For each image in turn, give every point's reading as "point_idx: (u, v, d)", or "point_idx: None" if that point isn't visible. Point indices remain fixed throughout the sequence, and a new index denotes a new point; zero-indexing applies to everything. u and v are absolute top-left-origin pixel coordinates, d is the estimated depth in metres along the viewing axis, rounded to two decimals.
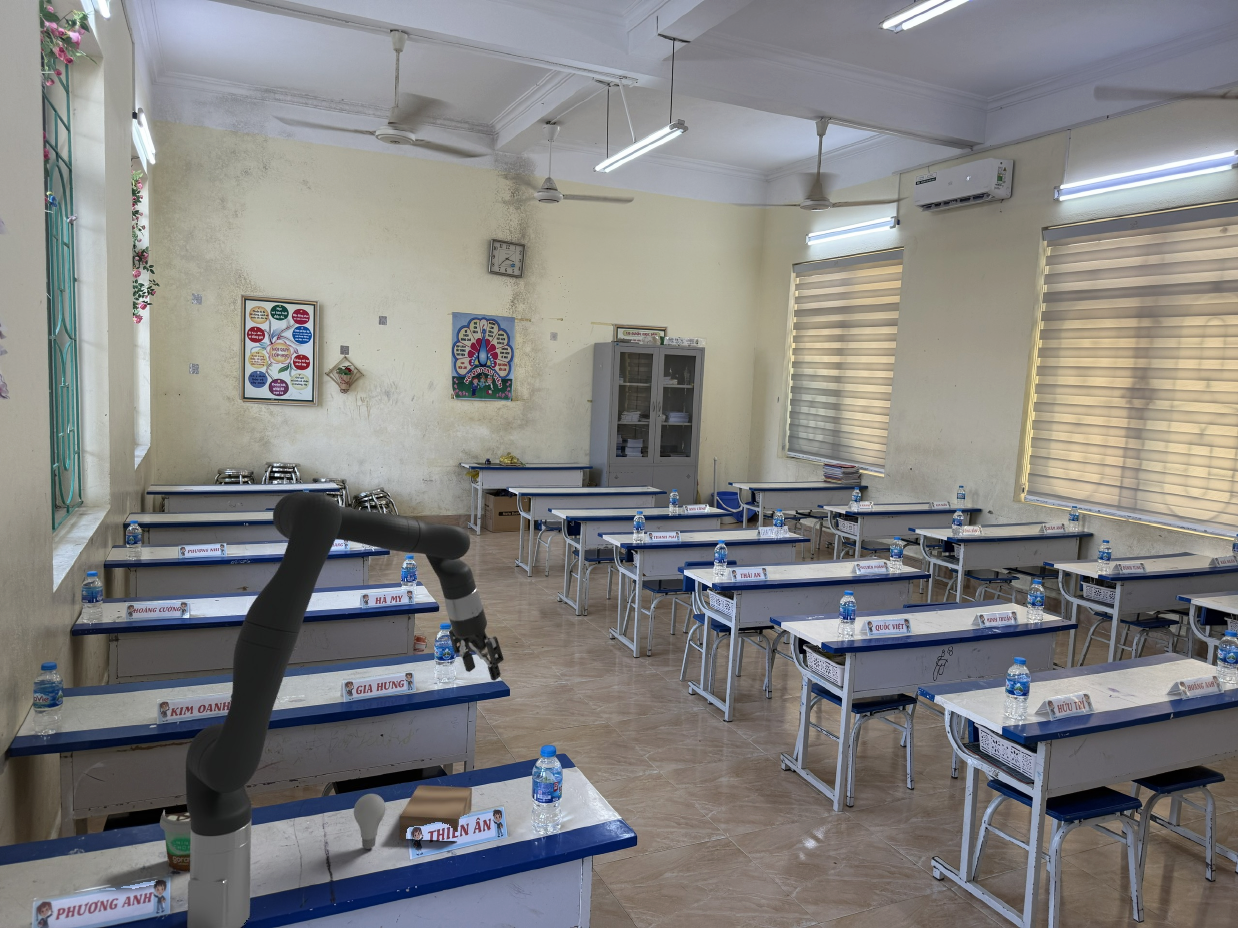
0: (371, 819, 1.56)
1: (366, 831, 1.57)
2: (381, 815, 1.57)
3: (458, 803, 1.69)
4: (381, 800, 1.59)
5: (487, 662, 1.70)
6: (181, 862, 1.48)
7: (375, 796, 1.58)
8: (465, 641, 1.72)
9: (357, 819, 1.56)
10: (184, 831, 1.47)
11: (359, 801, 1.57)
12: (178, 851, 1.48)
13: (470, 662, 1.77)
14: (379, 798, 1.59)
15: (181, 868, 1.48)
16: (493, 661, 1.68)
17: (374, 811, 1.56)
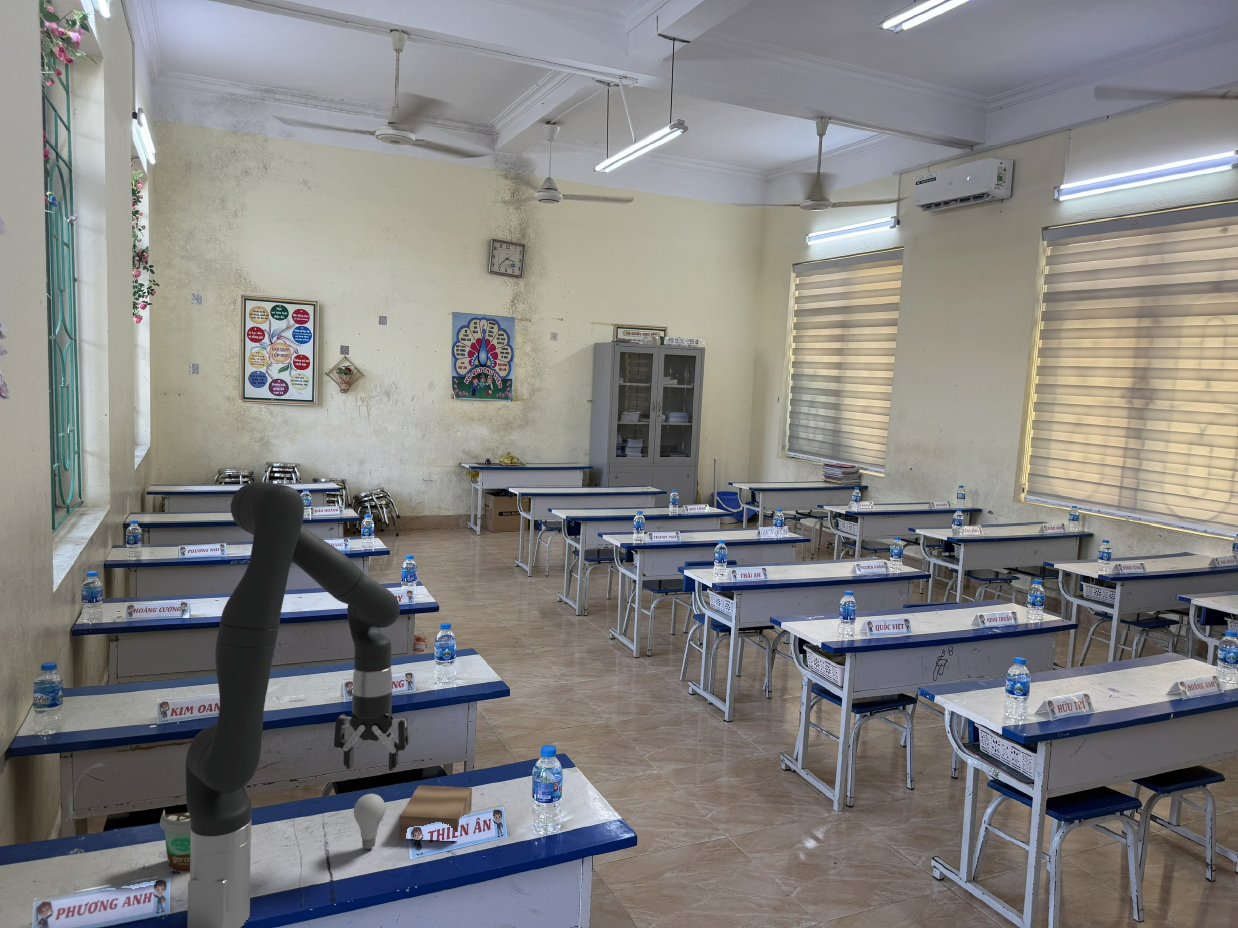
0: (371, 819, 1.56)
1: (366, 831, 1.57)
2: (381, 815, 1.57)
3: (458, 803, 1.69)
4: (381, 800, 1.59)
5: (391, 747, 1.57)
6: (181, 862, 1.48)
7: (375, 796, 1.58)
8: (365, 726, 1.56)
9: (357, 819, 1.56)
10: (184, 831, 1.47)
11: (359, 801, 1.57)
12: (178, 851, 1.48)
13: (351, 758, 1.58)
14: (379, 798, 1.59)
15: (181, 868, 1.48)
16: (402, 744, 1.56)
17: (374, 811, 1.56)
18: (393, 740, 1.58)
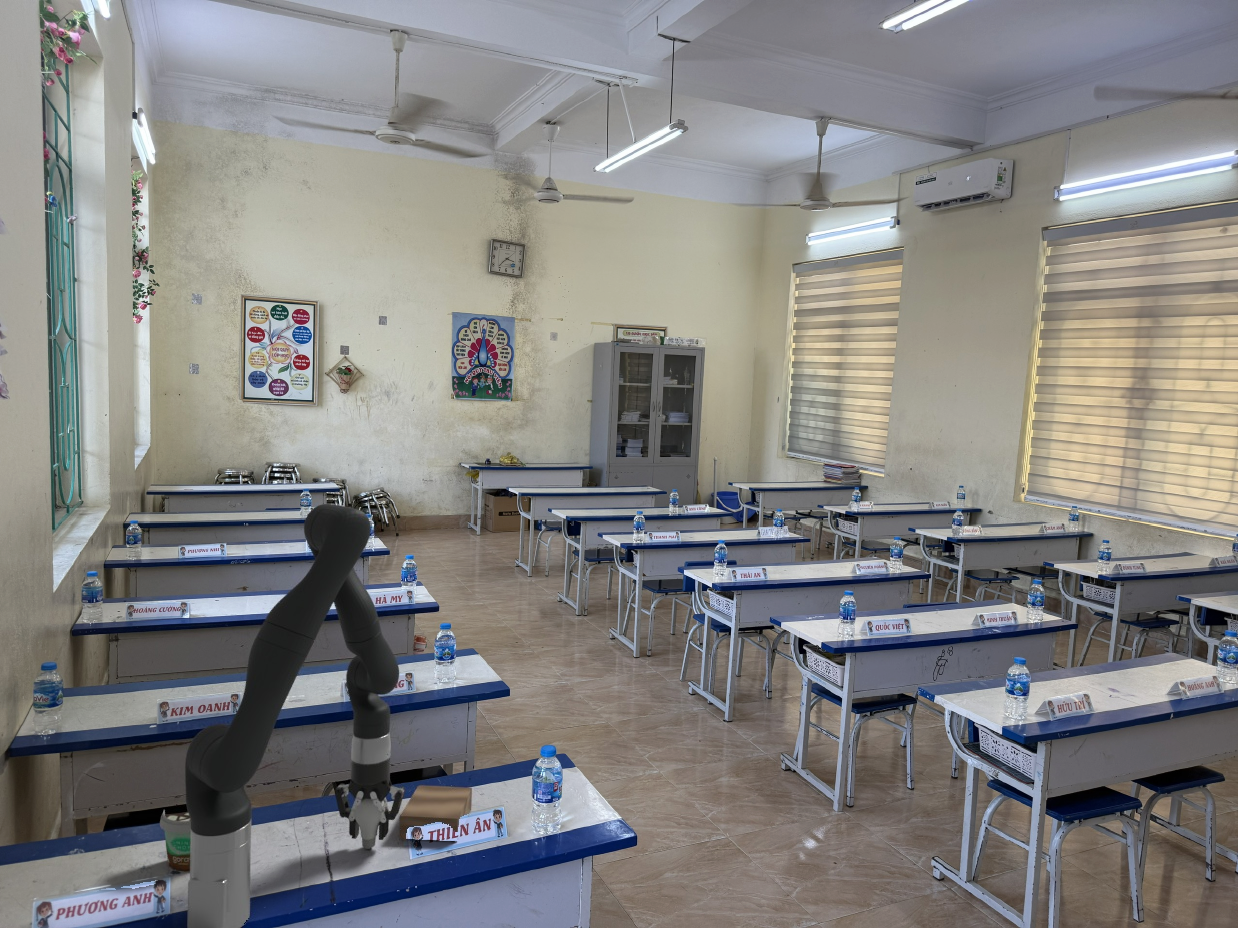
0: (371, 819, 1.56)
1: (366, 831, 1.57)
2: None
3: (458, 803, 1.69)
4: None
5: (381, 817, 1.57)
6: (181, 862, 1.48)
7: None
8: (363, 791, 1.57)
9: (357, 819, 1.56)
10: (184, 831, 1.47)
11: None
12: (178, 851, 1.48)
13: (357, 827, 1.59)
14: None
15: (181, 868, 1.48)
16: (394, 814, 1.57)
17: (374, 811, 1.56)
18: (385, 808, 1.59)
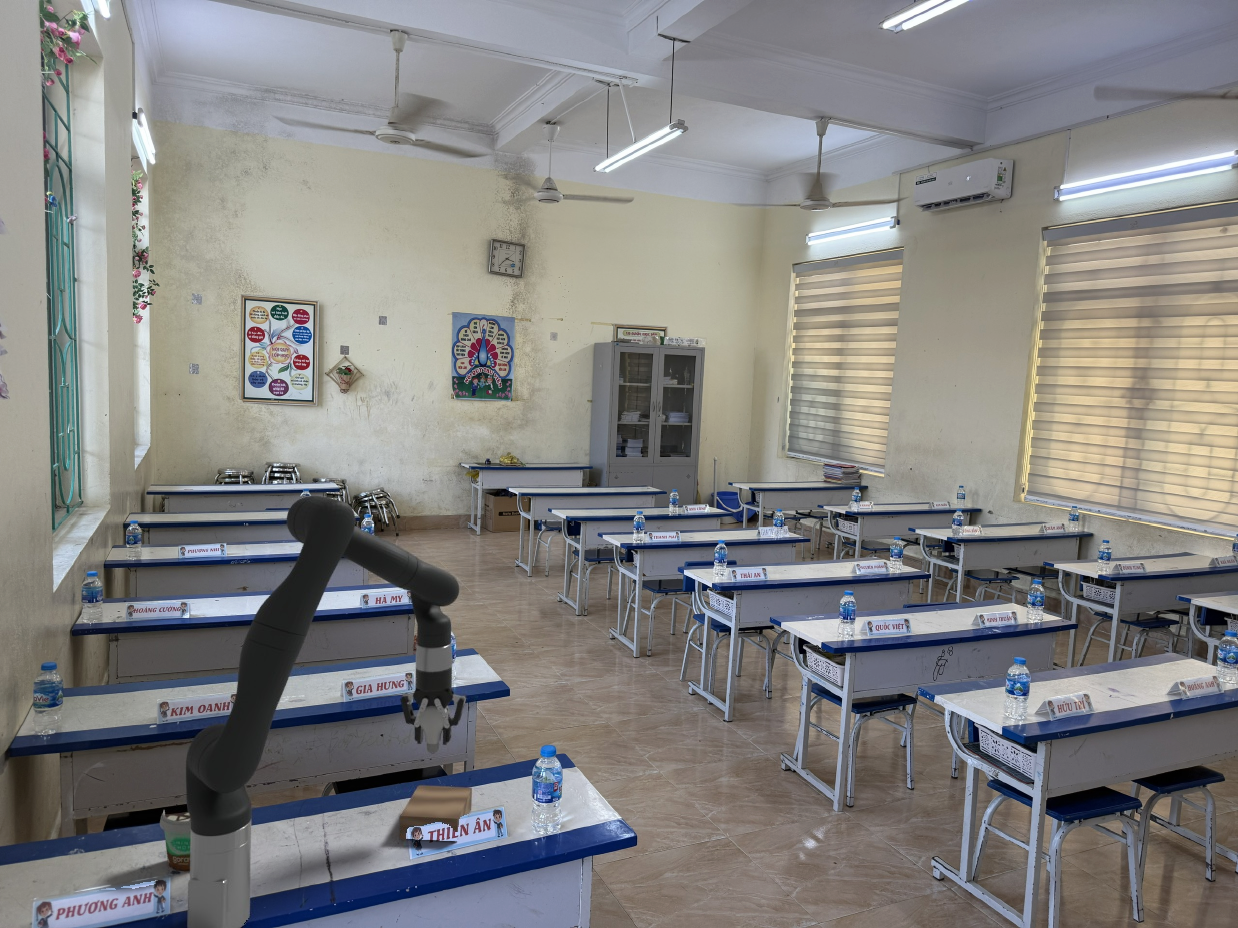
0: (435, 724, 1.65)
1: (431, 736, 1.66)
2: None
3: (458, 803, 1.69)
4: None
5: (445, 723, 1.66)
6: (181, 862, 1.48)
7: None
8: (427, 698, 1.66)
9: (422, 724, 1.65)
10: (184, 831, 1.47)
11: None
12: (178, 851, 1.48)
13: (421, 733, 1.68)
14: None
15: (181, 868, 1.48)
16: (457, 720, 1.66)
17: (438, 716, 1.65)
18: (448, 716, 1.68)
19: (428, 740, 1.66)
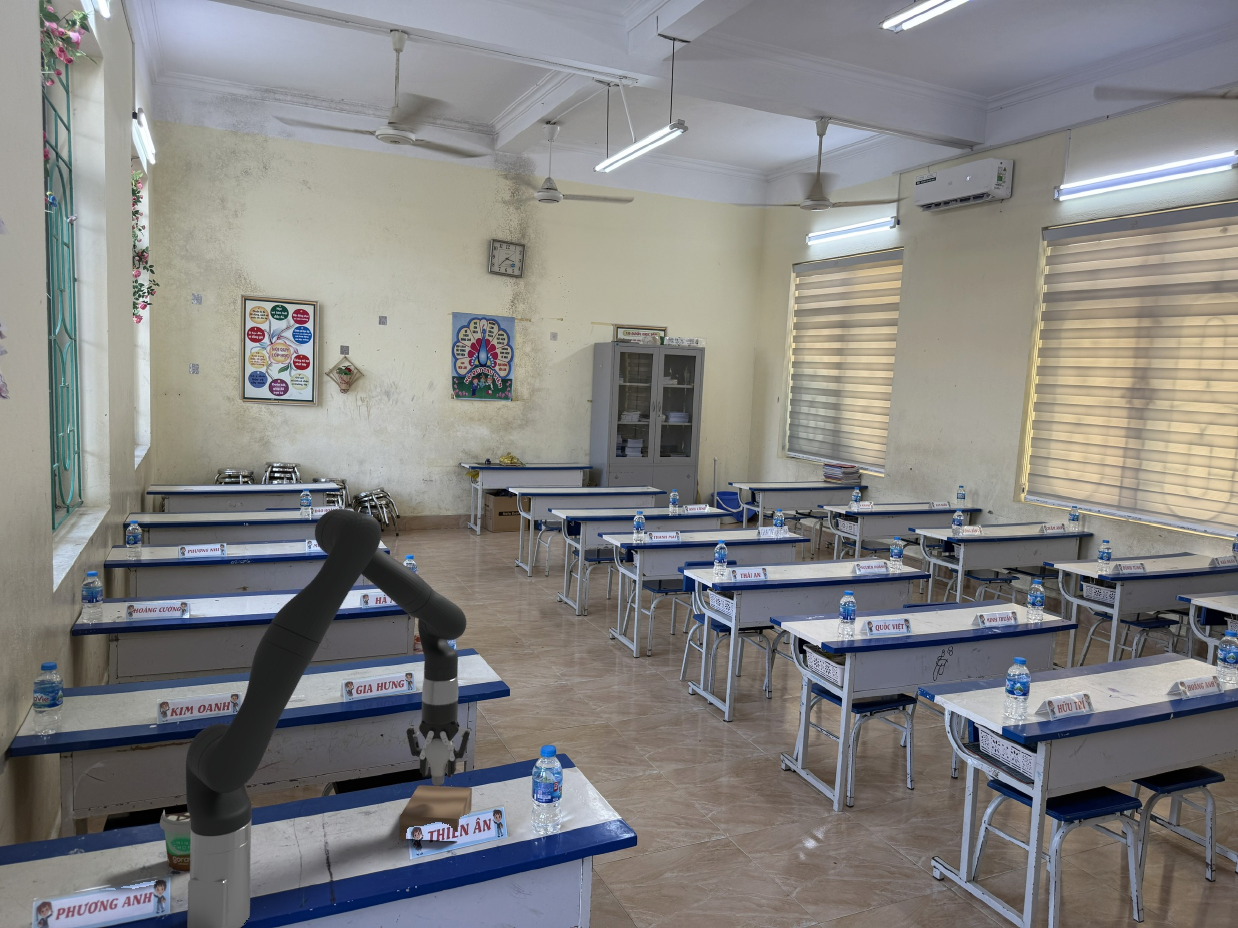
0: (441, 757, 1.66)
1: (436, 768, 1.67)
2: None
3: (458, 803, 1.69)
4: None
5: (450, 755, 1.68)
6: (181, 862, 1.48)
7: None
8: (433, 731, 1.67)
9: (428, 757, 1.66)
10: (184, 831, 1.47)
11: None
12: (178, 851, 1.48)
13: (427, 765, 1.69)
14: None
15: (181, 868, 1.48)
16: (462, 753, 1.68)
17: (444, 749, 1.66)
18: (453, 748, 1.69)
19: (433, 772, 1.68)
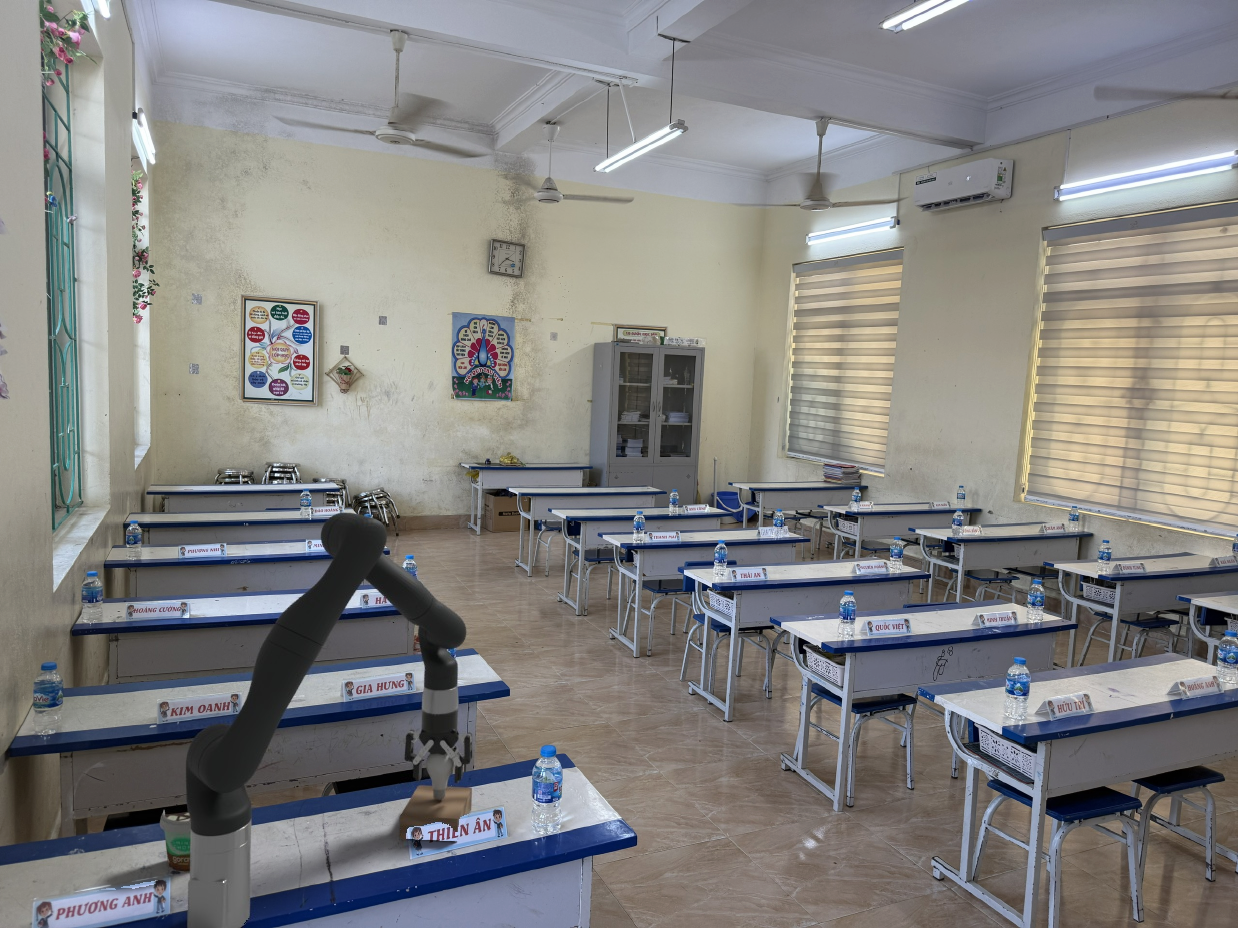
0: (443, 769, 1.67)
1: (438, 782, 1.68)
2: (452, 766, 1.69)
3: (458, 803, 1.69)
4: None
5: (457, 761, 1.68)
6: (181, 862, 1.48)
7: None
8: (433, 741, 1.67)
9: (430, 770, 1.67)
10: (184, 831, 1.47)
11: (431, 754, 1.69)
12: (178, 851, 1.48)
13: (420, 771, 1.69)
14: None
15: (181, 868, 1.48)
16: (468, 758, 1.68)
17: (446, 761, 1.68)
18: (458, 754, 1.70)
19: (435, 786, 1.68)
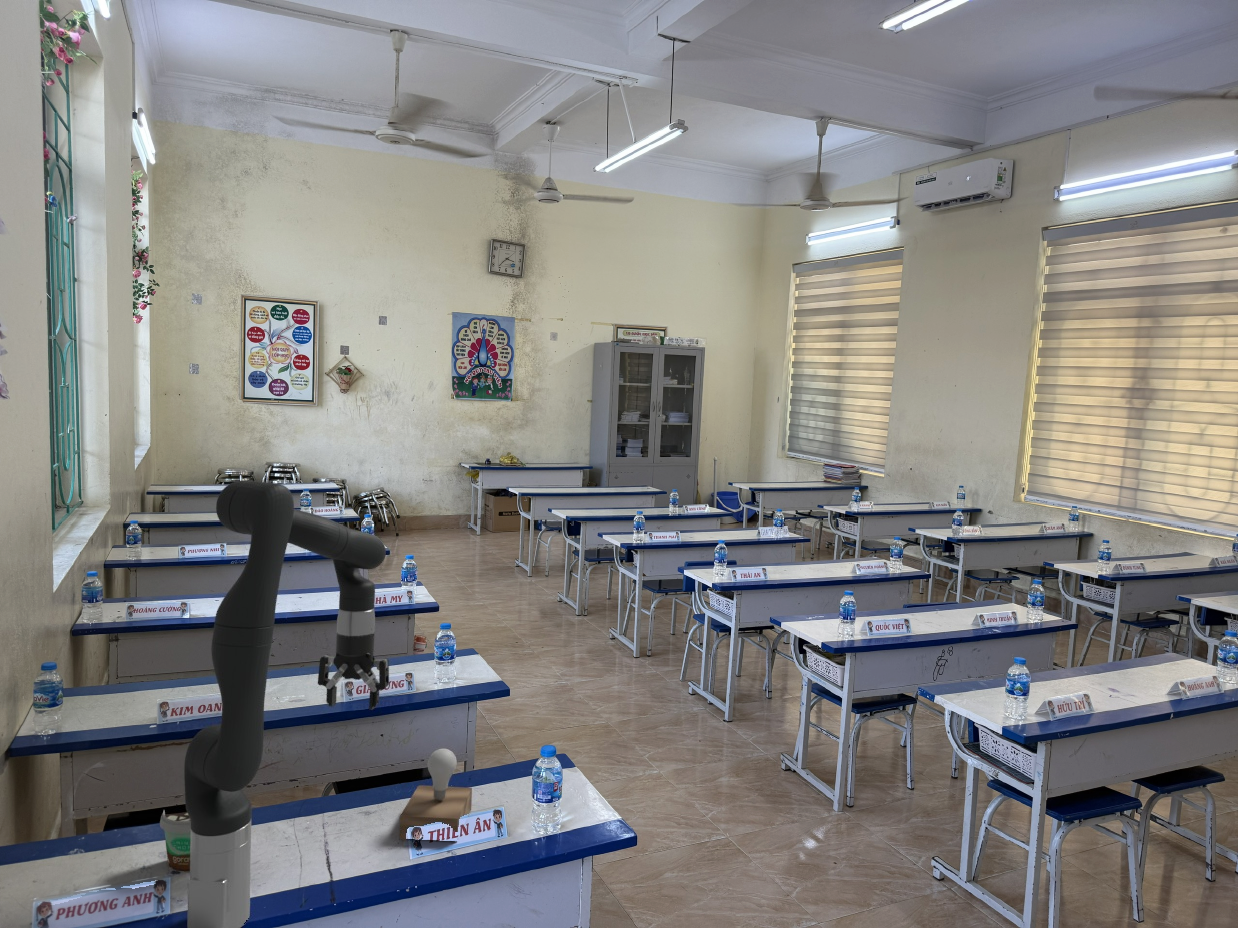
0: (445, 771, 1.67)
1: (439, 783, 1.68)
2: (454, 768, 1.69)
3: (458, 803, 1.69)
4: (453, 754, 1.70)
5: (372, 686, 1.63)
6: (181, 862, 1.48)
7: (448, 750, 1.70)
8: (347, 665, 1.63)
9: (432, 771, 1.67)
10: (184, 831, 1.47)
11: (434, 754, 1.69)
12: (178, 851, 1.48)
13: (334, 696, 1.65)
14: (451, 752, 1.70)
15: (181, 868, 1.48)
16: (383, 683, 1.63)
17: (448, 763, 1.67)
18: (374, 680, 1.65)
19: (436, 787, 1.68)
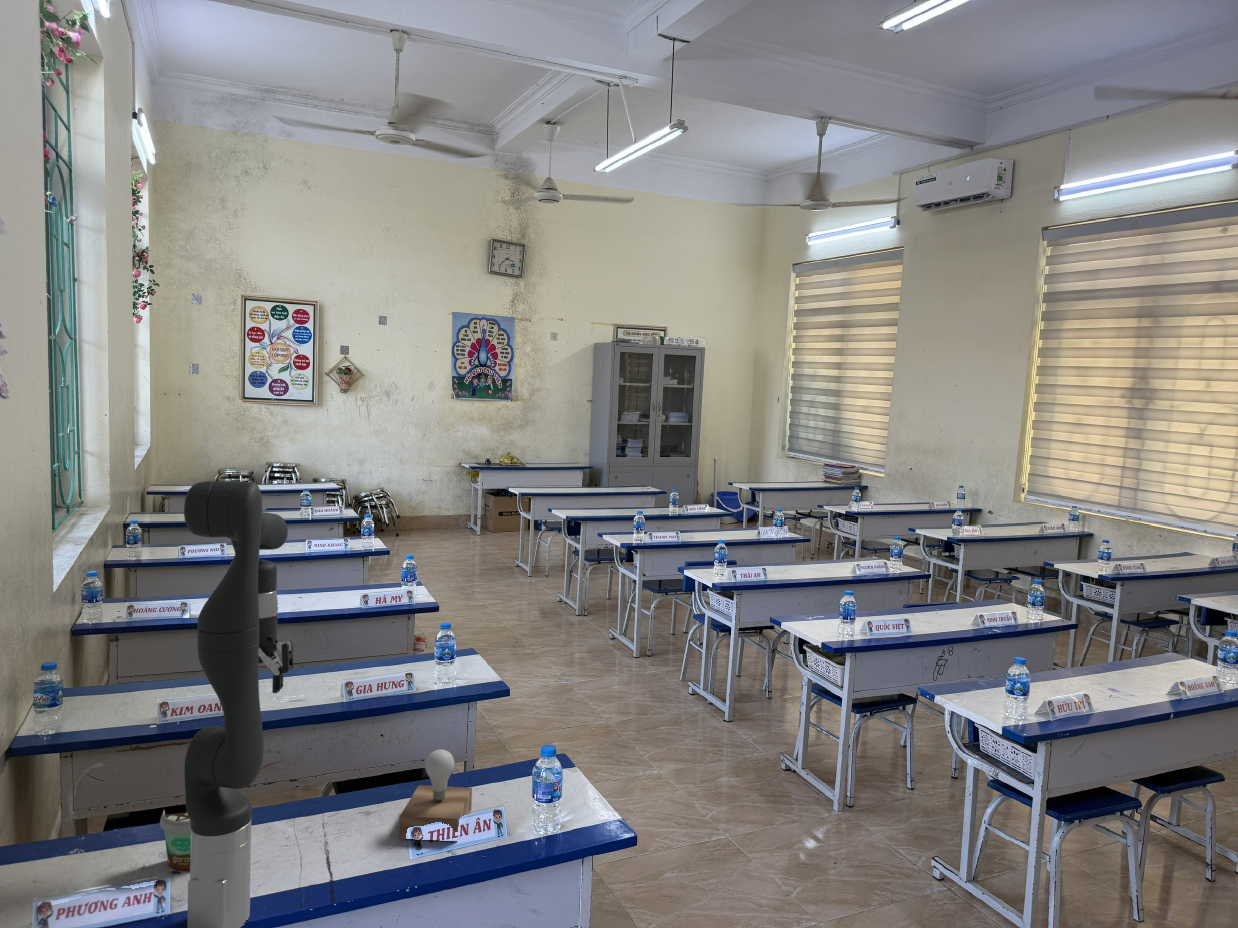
0: (443, 772, 1.67)
1: (438, 784, 1.68)
2: (451, 768, 1.68)
3: (458, 803, 1.69)
4: (450, 755, 1.70)
5: (275, 670, 1.60)
6: (181, 862, 1.48)
7: (445, 751, 1.69)
8: None
9: (430, 772, 1.67)
10: (184, 831, 1.47)
11: (430, 756, 1.68)
12: (178, 851, 1.48)
13: None
14: (448, 753, 1.69)
15: (181, 868, 1.48)
16: (286, 666, 1.59)
17: (445, 764, 1.67)
18: (278, 663, 1.61)
19: (435, 788, 1.68)
